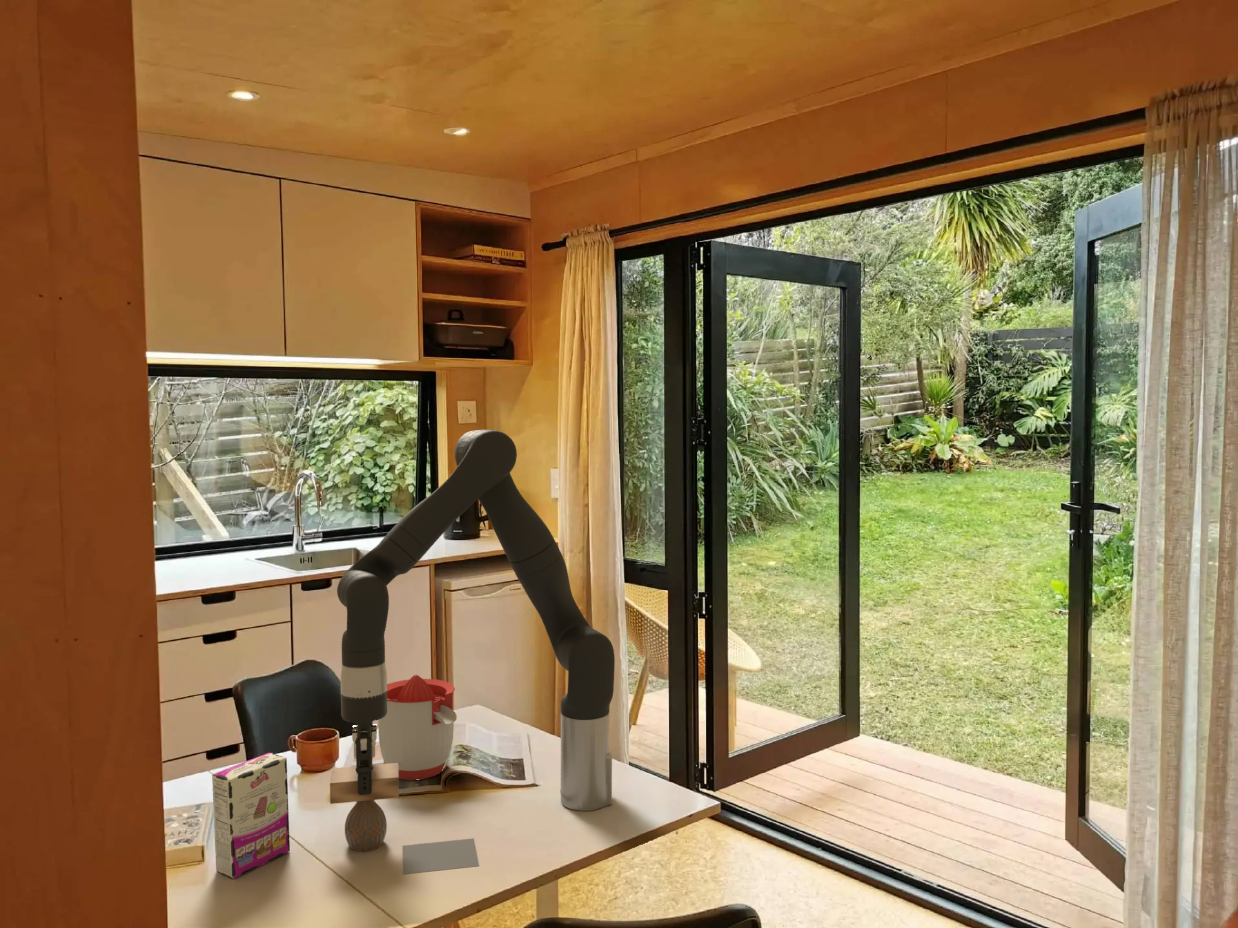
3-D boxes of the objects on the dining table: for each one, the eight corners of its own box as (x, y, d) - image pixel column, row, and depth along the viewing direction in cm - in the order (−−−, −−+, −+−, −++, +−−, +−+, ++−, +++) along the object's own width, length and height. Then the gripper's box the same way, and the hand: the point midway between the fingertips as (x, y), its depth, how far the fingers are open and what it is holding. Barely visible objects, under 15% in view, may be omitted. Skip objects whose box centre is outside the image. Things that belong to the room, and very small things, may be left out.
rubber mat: (473, 841, 164) (473, 838, 164) (479, 869, 155) (479, 865, 155) (402, 848, 162) (402, 845, 161) (403, 877, 152) (403, 873, 152)
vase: (375, 859, 158) (375, 807, 157) (337, 854, 159) (336, 803, 159) (393, 840, 165) (393, 790, 164) (356, 836, 166) (356, 787, 166)
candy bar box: (271, 844, 163) (269, 750, 162) (290, 852, 160) (289, 756, 159) (213, 871, 153) (210, 772, 152) (232, 880, 151) (230, 779, 150)
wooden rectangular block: (398, 782, 166) (398, 762, 166) (398, 797, 160) (398, 777, 159) (332, 787, 163) (332, 768, 163) (330, 803, 157) (329, 782, 157)
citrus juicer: (425, 793, 184) (424, 692, 183) (361, 775, 193) (359, 678, 192) (477, 767, 198) (477, 672, 196) (415, 751, 207) (414, 660, 205)
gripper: (386, 700, 154) (388, 800, 155) (387, 675, 168) (388, 767, 169) (338, 703, 152) (340, 804, 153) (342, 678, 166) (344, 771, 167)
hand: (365, 784), depth 161 cm, fingers open, 6 cm apart
